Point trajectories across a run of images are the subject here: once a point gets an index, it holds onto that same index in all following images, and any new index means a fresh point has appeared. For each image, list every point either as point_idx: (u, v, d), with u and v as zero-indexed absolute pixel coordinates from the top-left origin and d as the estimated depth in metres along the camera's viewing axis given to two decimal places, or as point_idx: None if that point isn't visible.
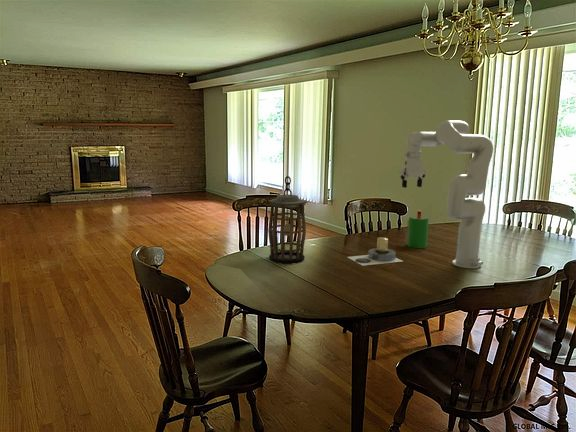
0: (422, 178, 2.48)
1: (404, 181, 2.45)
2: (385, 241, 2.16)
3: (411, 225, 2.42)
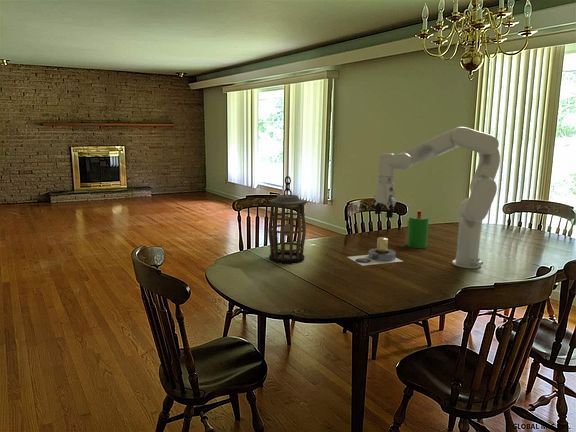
0: None
1: (391, 210, 2.10)
2: (385, 241, 2.16)
3: (411, 225, 2.42)
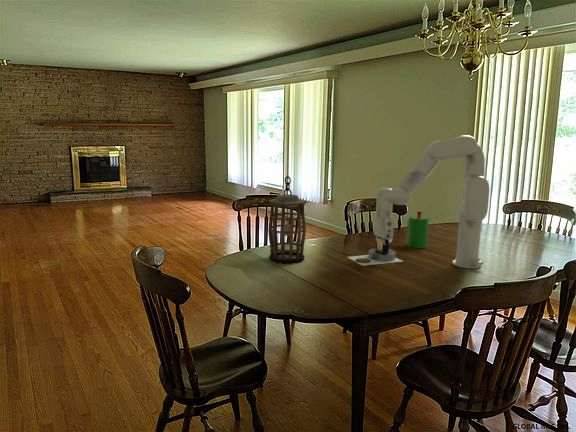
0: None
1: (387, 246, 2.15)
2: None
3: (411, 225, 2.42)
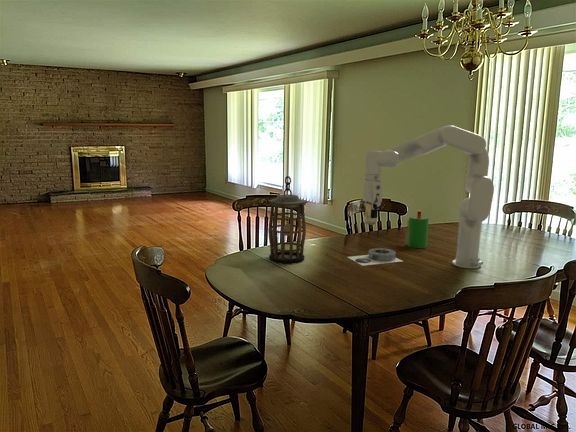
0: None
1: (376, 211, 2.08)
2: None
3: (411, 225, 2.42)
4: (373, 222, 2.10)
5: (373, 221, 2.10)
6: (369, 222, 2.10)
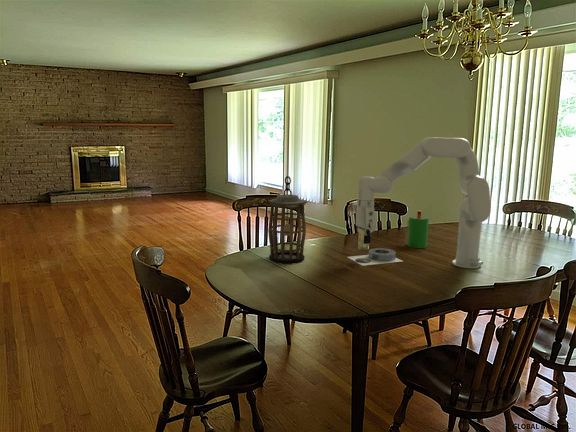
0: None
1: None
2: None
3: (411, 225, 2.42)
4: (366, 247, 2.10)
5: (366, 246, 2.10)
6: (362, 247, 2.10)
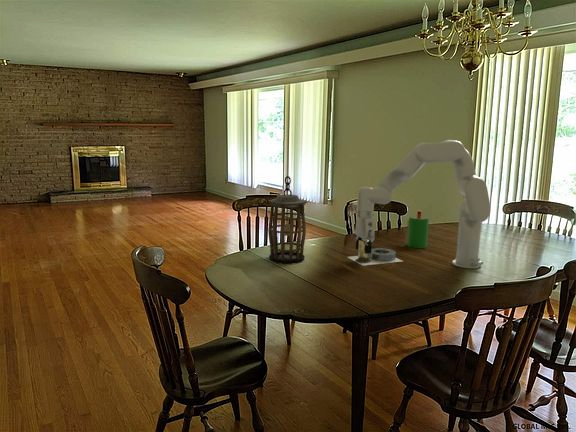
0: (360, 238, 2.17)
1: None
2: None
3: (411, 225, 2.42)
4: (366, 259, 2.11)
5: (366, 258, 2.11)
6: (362, 259, 2.11)
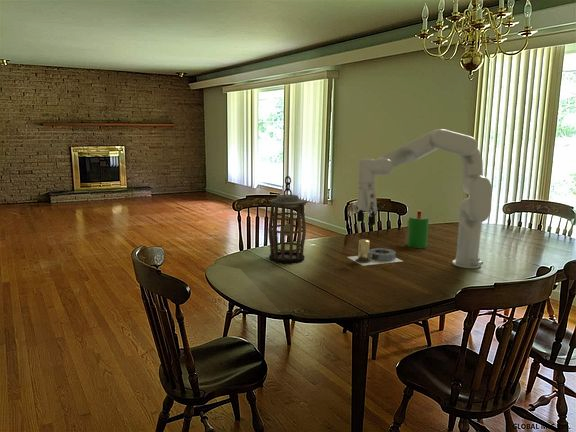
0: None
1: (373, 217, 2.05)
2: (366, 243, 2.10)
3: (411, 225, 2.42)
4: (366, 259, 2.11)
5: (366, 258, 2.11)
6: (362, 259, 2.11)
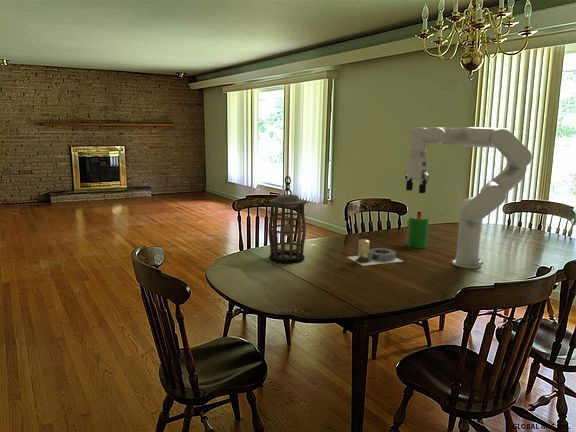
0: None
1: (424, 185, 2.08)
2: (366, 243, 2.10)
3: (411, 225, 2.42)
4: (366, 259, 2.11)
5: (366, 258, 2.11)
6: (362, 259, 2.11)
